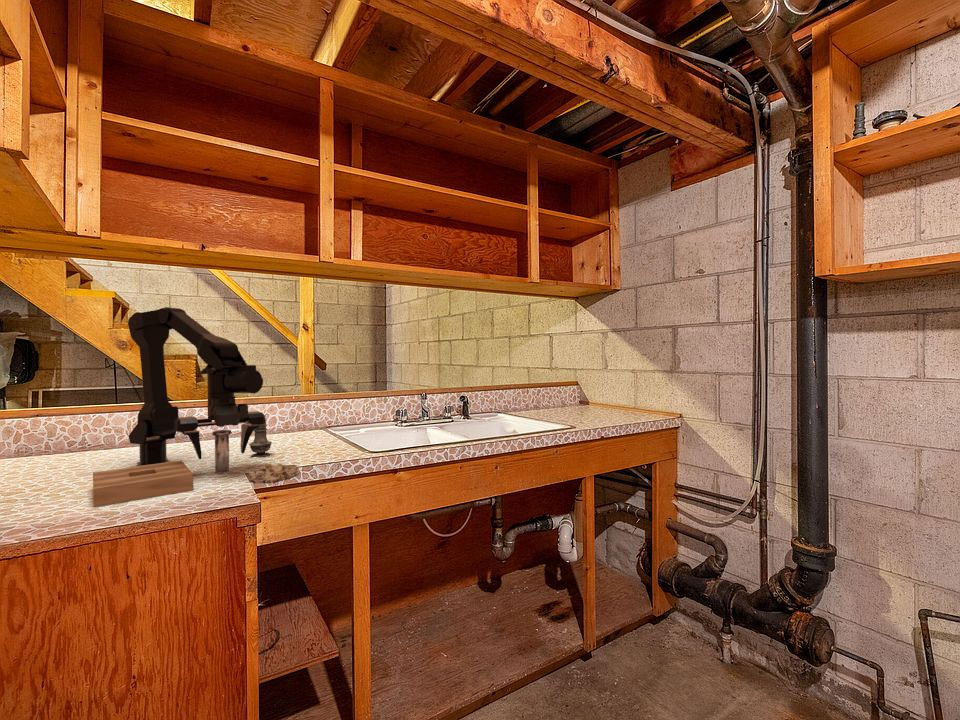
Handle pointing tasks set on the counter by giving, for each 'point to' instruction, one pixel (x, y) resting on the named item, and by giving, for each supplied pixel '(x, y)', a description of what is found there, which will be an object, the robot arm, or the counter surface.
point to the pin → (221, 450)
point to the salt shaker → (260, 442)
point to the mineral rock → (273, 473)
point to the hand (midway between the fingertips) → (221, 456)
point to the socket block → (140, 482)
